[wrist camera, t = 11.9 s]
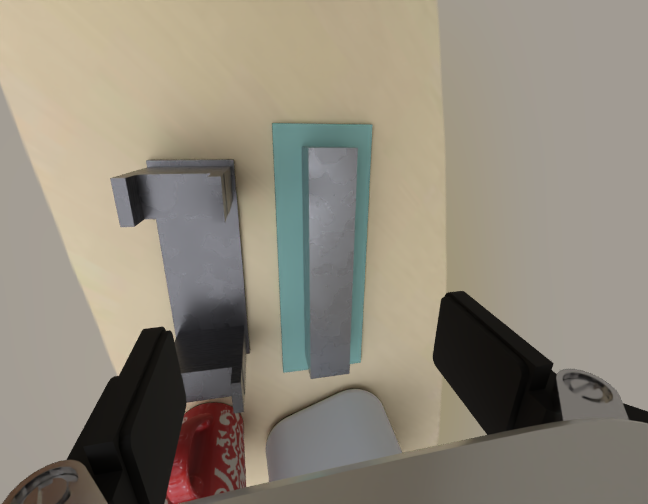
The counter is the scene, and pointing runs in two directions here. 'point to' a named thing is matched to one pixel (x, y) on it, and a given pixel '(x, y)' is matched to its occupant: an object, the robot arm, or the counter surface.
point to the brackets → (197, 266)
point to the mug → (208, 454)
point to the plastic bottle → (330, 436)
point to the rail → (328, 256)
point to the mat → (291, 228)
